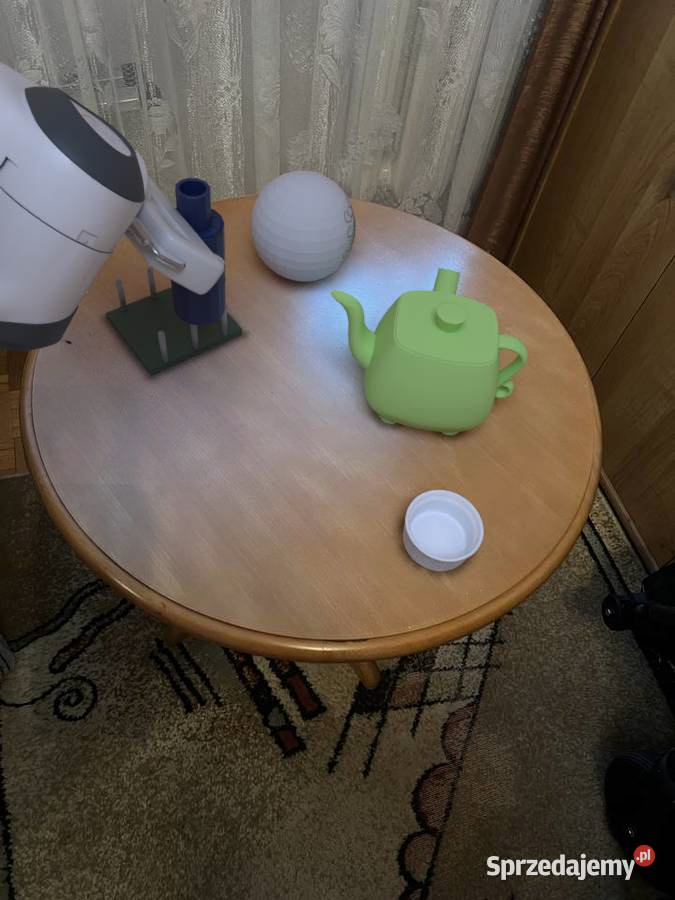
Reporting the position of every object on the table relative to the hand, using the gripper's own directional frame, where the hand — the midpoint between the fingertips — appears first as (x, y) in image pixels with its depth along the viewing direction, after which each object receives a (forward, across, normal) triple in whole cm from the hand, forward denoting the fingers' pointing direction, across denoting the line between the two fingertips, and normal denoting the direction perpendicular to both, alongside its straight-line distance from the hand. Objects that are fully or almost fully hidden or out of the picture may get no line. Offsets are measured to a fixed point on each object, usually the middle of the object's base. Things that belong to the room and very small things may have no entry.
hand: (201, 244), depth 71 cm
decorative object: (+29, +10, -2) cm, 30 cm away
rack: (+13, +8, +14) cm, 21 cm away
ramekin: (+21, -37, +7) cm, 43 cm away
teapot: (+30, -16, -2) cm, 34 cm away
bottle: (+6, 0, +7) cm, 9 cm away
